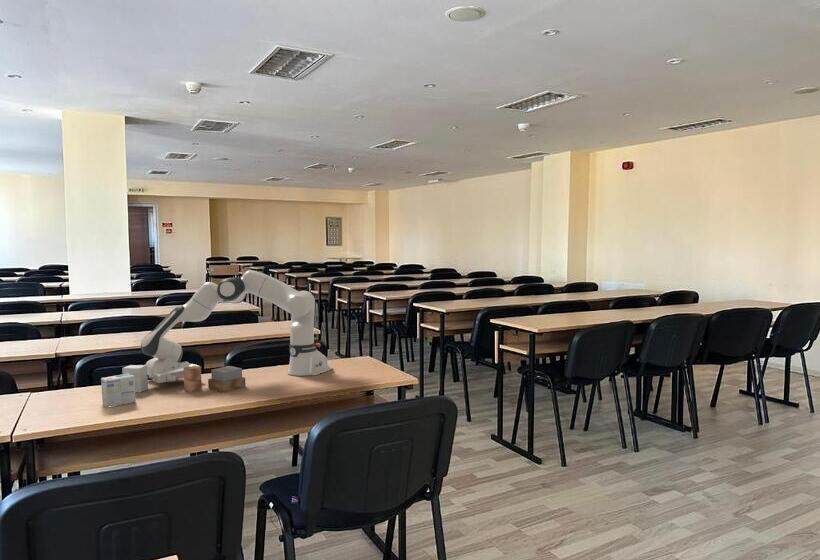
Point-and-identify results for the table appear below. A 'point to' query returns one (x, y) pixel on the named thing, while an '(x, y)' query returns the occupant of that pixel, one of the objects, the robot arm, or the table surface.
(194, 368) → the terracotta block
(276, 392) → the table surface
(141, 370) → the small box
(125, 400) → the light bulb box
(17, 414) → the table surface
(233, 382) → the walnut base block
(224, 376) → the grey top block
